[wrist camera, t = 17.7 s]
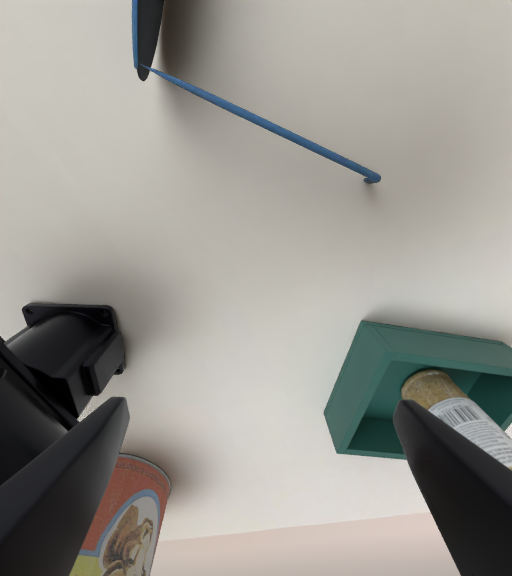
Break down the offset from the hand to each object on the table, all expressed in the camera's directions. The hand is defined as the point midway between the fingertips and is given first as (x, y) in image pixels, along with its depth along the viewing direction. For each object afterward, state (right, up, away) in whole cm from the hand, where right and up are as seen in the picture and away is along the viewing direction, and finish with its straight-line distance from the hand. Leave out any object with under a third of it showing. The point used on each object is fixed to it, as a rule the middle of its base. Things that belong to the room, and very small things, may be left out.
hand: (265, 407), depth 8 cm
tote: (+14, -5, +16) cm, 22 cm away
